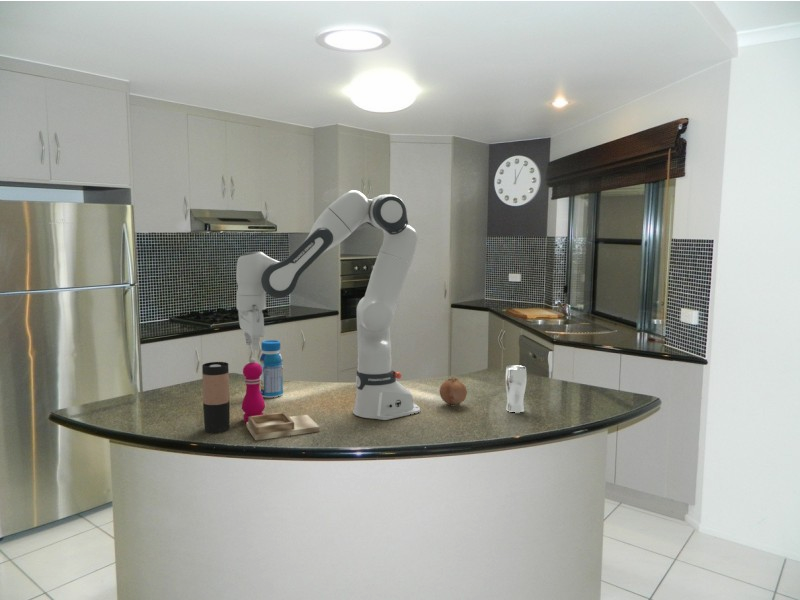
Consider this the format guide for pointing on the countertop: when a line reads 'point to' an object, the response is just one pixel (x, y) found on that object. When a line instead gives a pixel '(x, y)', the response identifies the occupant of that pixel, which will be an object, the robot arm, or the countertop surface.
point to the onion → (453, 391)
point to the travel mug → (216, 396)
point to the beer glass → (515, 387)
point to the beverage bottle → (271, 369)
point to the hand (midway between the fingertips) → (251, 347)
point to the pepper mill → (252, 390)
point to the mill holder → (280, 425)
